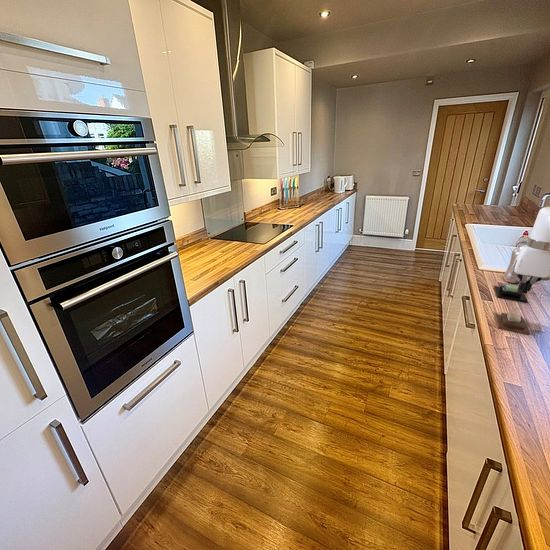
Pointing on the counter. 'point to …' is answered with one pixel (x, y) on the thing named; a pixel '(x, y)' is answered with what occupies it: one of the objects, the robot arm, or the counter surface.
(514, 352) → the counter surface
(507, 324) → the keypad near
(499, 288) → the keypad far
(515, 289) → the key far
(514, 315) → the key near
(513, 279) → the plastic bottle
